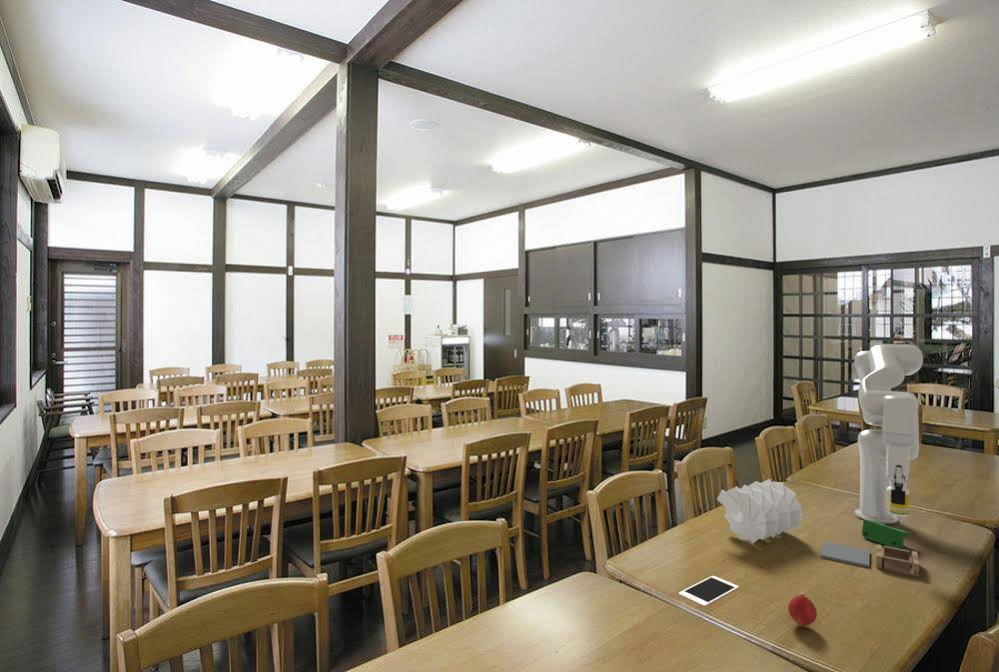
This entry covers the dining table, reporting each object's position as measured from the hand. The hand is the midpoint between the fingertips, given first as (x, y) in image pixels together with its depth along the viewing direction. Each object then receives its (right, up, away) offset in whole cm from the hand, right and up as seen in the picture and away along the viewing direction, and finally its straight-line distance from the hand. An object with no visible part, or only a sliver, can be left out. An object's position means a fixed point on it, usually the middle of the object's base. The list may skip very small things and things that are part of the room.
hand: (897, 500), depth 154 cm
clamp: (+9, -19, +17) cm, 27 cm away
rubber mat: (-10, -19, +8) cm, 23 cm away
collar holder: (0, -19, 0) cm, 19 cm away
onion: (-44, -21, -29) cm, 57 cm away
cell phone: (-59, -21, -13) cm, 64 cm away
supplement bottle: (0, -4, 0) cm, 4 cm away
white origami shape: (-28, -19, +23) cm, 41 cm away
